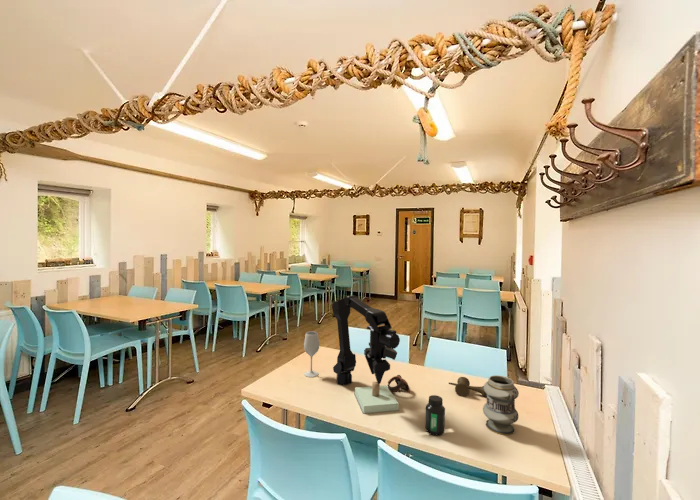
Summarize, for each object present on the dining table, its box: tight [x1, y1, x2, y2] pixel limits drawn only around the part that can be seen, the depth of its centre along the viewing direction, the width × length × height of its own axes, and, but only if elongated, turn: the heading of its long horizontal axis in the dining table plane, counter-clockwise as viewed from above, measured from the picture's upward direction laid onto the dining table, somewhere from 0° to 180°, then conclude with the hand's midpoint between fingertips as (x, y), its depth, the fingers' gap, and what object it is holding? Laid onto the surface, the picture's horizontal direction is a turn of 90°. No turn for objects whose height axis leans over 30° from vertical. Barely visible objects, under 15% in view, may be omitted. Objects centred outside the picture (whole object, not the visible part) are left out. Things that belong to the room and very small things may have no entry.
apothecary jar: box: [482, 374, 519, 436], centre depth 122 cm, size 12×12×18 cm
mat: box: [353, 392, 400, 415], centre depth 138 cm, size 15×17×1 cm
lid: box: [354, 381, 399, 414], centre depth 138 cm, size 14×16×8 cm
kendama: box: [448, 376, 487, 398], centre depth 149 cm, size 6×10×20 cm
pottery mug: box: [386, 374, 411, 394], centre depth 149 cm, size 12×10×8 cm
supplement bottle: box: [424, 394, 446, 437], centre depth 119 cm, size 7×7×12 cm
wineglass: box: [303, 330, 320, 378], centre depth 166 cm, size 8×8×21 cm
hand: (375, 378), depth 138 cm, fingers open, 9 cm apart
